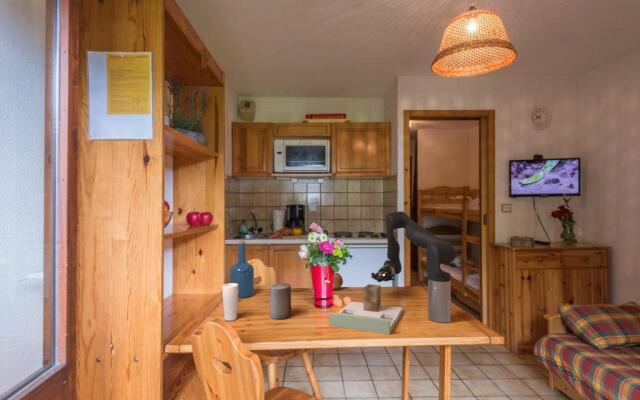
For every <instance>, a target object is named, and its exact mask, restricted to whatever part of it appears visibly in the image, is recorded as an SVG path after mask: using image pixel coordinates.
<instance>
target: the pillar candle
mask: <svg viewBox="0 0 640 400" xmlns="http://www.w3.org/2000/svg"><path fill="white" fill-rule="evenodd" d="M291 285H292V284H290V283H287V282H285V283H283V282H282V283H281V282H280V283H279V282H278V283H273V284H269V286H268V287H269V317H270V318H271V319H272V320H278V321H279V320H286V319H289V318H291V317H292V286H291Z"/></svg>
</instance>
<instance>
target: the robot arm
mask: <svg viewBox="0 0 640 400" xmlns="http://www.w3.org/2000/svg"><path fill="white" fill-rule="evenodd" d="M397 229H404V230H405V237H406V239H407V240H408V242H410V243H412V244H413V245H415V246H416V247H420V248H423V249H425V260H426V261H425V262H426V273H427V282H428V283H427V285H428V286H427V288H428V290H427V295H428V296H427V298H428V299H427V300H428V302H427V305H428V307H427V308H428V309H427V310H428V311H427V314H428V320H430V321H432V322H436V323H451V320H452V296H451V295H452V294H451V291H452V288H451V287H452V286H451V285H452V284H451V283H452V282H451V281H452V279H451V273H449V272H447V271H445V270H443V269H442V268H441V265H445V264H447V265H448V264H450V263H451V264H452V262H454V261H455V260H456V256H457V255H456V250H455V248H454V247H453V244H451V243H449V242H448V241H446V240H444V239H442V238H439V237H438V236H436V235H435V234H434V233H432V232H430V231H428V230H427V229H426V228H425V227H423V226H422V225H420V224H418V223H417V222H416V221H415V220H413V218H412V217H410V216H409V215H408V214H407V213H405V212H404V211H400V210H399V211H394V212H389V213H387V214H386V216H385V230H386V241H387V248H386V249H387V251H386V258H387V259H386V260H385V261H384V263H383V266H382V267H380V268H379V269H378V271H377V272H376V273H375V272H371V276H370V277H371V279H373V280H375V281H376V282H377V283H381V282H389V281H395V279H396V275H400V274H401V272H402V270H403V269H402V268H403V267H402V262H401V258H400V254H401V253H400V252H401V246H400V243H399V241H398V240H397V239H396V237H395V234H394V230H397Z"/></svg>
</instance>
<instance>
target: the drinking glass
mask: <svg viewBox="0 0 640 400" xmlns="http://www.w3.org/2000/svg"><path fill="white" fill-rule="evenodd" d="M238 302H239V298H238V284H236V283H229V282H228V283H225V284H222V305H223V320H225V322H232V321H235V320H237V318H238V315H237V314H238Z"/></svg>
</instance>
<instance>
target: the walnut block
mask: <svg viewBox="0 0 640 400" xmlns="http://www.w3.org/2000/svg"><path fill="white" fill-rule="evenodd" d="M381 288H382V287H381V285H379V284H378V285H377V284H367V285H365V286H364V287H363V303H364V311H372V312H377V311H378V310H379V309H380V307H381V305H382V302H381V301H382V294H381V293H382V291H381Z"/></svg>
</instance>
